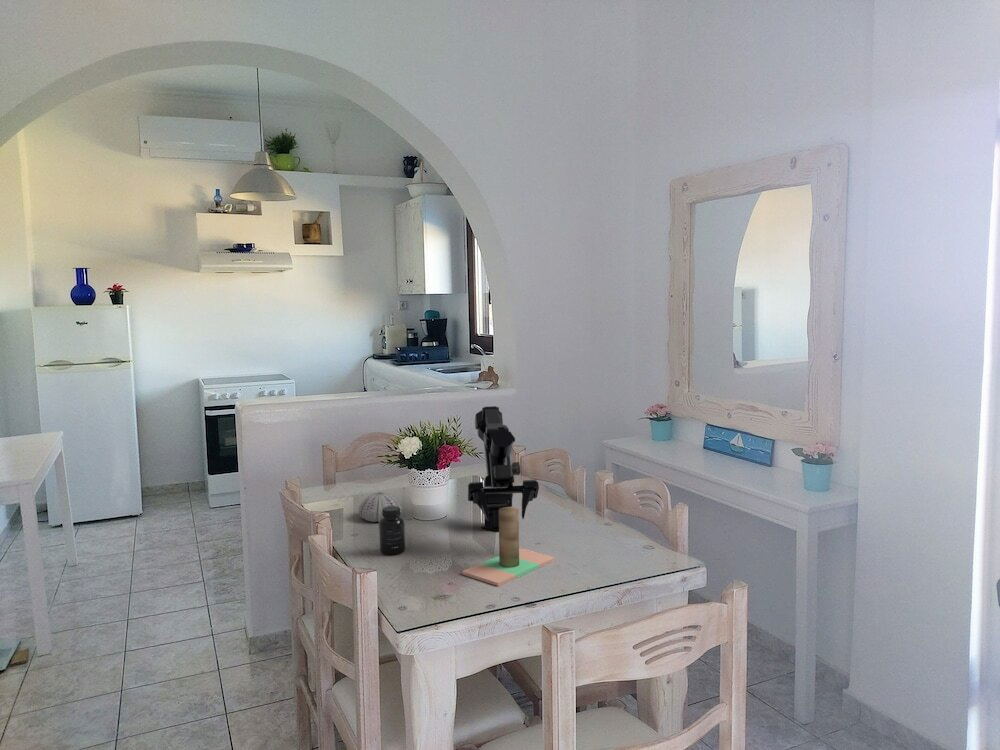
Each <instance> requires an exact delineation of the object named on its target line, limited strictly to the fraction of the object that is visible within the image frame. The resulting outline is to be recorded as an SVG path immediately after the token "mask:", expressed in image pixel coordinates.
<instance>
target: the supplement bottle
mask: <svg viewBox="0 0 1000 750" xmlns="http://www.w3.org/2000/svg"><path fill="white" fill-rule="evenodd" d="M401 515H402V511H401V512H400V507H397V506H388V507H384V508H383V509H382V516H383V518H381V519H380V521H379V522H378V534H379V536H378V537H379V538H378V539H379V552H380V553H381V555H384V556H391V557H392V556H398V555H400V554H403V553H404V552H405V551H406V531H405V530H406V528H405V519H404V518H403V517H402V516H401Z"/></svg>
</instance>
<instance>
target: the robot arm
mask: <svg viewBox="0 0 1000 750" xmlns="http://www.w3.org/2000/svg"><path fill="white" fill-rule="evenodd" d="M474 429H475V430H477V437H478V438H479V439H480V440H481V441H482V442H483V447H484V448H483V449H484V457H485V468H486V476H485V478H484V482H483V481H479V482H477V481H474V482H473V481H472V482H469V483H468V485H467V500H468V502H472V503H473V504H475V505H477V506H478V508H479V509H480V510H481V512H482V514H483V515H484V518H483V519H484V524H482V525H481V527H480V528H482V529H486V530H489V531H493V532H499V509H500V508H503V507H513V497H514V494H521V497H522V498H521V519H522V520H524V519H525V514H526V512H527V507H528V505H529V502H532V501H533V500H535V499H537V498H538V494H539V490H540V486H539V481H537V480H536V479H523V480H522V485H521V484H520V485H514V484H515V483H514V482H515V477H514V476H520V474H521V464H520V461H516V462H515V461H513V462H511V455H512V451H513V446H514V443H515V442H516V437H515V436H514V435H513V433H512V432H511V431H510V430H509V427H508V426H507V425H505V424H504V420H503V413H502V412H501V410H500V407H499V406H497V405H496V406H491V405H490V406H483V407H482V408H481V410H480V411H478V412H477V413H475V417H474Z"/></svg>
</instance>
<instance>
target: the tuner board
mask: <svg viewBox="0 0 1000 750" xmlns="http://www.w3.org/2000/svg"><path fill="white" fill-rule="evenodd" d="M555 560H556V557H554V556H552V555H549V554H544V553H541V552H540V553H539V552H538V551H537V552H536V551H532V550H529V549H525V548H521V547H519V565H518V566H516V567H511V568H507V567H502V566H500V564H499V555H498V556H496V557H495V556H494V557H492V558H490V559H488V560H485V561H483V562H480V563H478V564H475V565H474V566H471V567H469V568H468V567H467V568H466V569H464V570H461V575H462V576H463V575H464V576H466V577H469V578H472V579H474V580H475V579H476V580H477V581H481V582H484V583H488V584H491V585H494V586H497V587H500V586H502V585H504V584H507V583H508V582H509V583H510V582H511V581H512V580H515V579H517V578H519V577H522V576H525V575H526V574H528V573H531V572H532V571H535V570H537V569H539V568H541V567H543V566H545V565H548V564H550V563H552V562H555Z"/></svg>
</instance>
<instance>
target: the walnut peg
mask: <svg viewBox="0 0 1000 750" xmlns="http://www.w3.org/2000/svg"><path fill="white" fill-rule="evenodd" d="M519 511H520V509H519V508H518V507H515V506H512V507H503V508H500V509H499V531H498V548H499V549H498V551H499V555H498V556H499V564H500V566H502V567H507V568H511V567H516V566H518V565H519V548H520V522H519V521H520V516H519V514H520V512H519Z"/></svg>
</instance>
